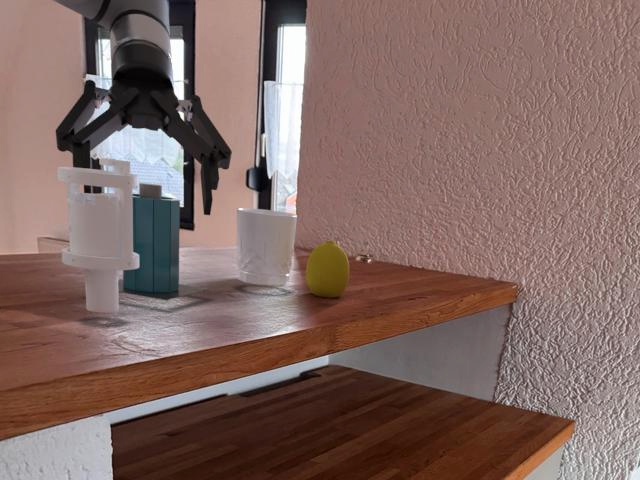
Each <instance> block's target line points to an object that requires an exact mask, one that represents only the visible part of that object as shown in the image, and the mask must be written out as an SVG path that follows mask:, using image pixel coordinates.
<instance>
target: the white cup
mask: <svg viewBox="0 0 640 480" xmlns="http://www.w3.org/2000/svg"><path fill="white" fill-rule="evenodd" d="M297 221H298V215H297V214H295V213H291V212H286V211H279V210H271V209H263V208H249V207H239V208H237V209H236V265H237V268H238V269H237V279H238V280H239V281H241V282H244V283H247V284H253V285H259V286H273V287H274V286H275V287H277V286H278V287H279V286H280V287H281V286H287V285H289V283H290V273H291V270H292V266H293V265H292V263H293V256H294V249H295V240H296V231H297Z"/></svg>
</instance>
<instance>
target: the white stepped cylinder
mask: <svg viewBox="0 0 640 480" xmlns="http://www.w3.org/2000/svg"><path fill="white" fill-rule="evenodd" d="M98 160H99V165H101V166H107V167H113V170H104V169H96V168H91V169H86V168H74V167H73V166H71V167H70V166H69V167H68V166H57V181H59V182H62V183H66V194H67V195H66V196H67V218H68V235H69V236H68V240H69V241H68V242H69V246H67V247H63V248H61V262H62V264H65V265H66V266H69V267H74V268H75V267H76V268H79V269H81V268H82V269H84V281H85V283H84V285H85V287H84V288H85V304H86V306H85V307H86V308H85V309H86V310H87V311H88V312H91V313H99V314H100V313H102V314H111V313H112V314H113V313H117V312H119V311H120V304H119V293H120V292H119V291H118V280H119V271H122V270H133V269H137V268H139V254H137V253H135V252H133V199H132V193H133V190H136V189H138V190H139V183H140V176H139V175H138V174H133V173H131V161H127V160H119V159H116V158H108V157H102V158H99V159H98ZM81 185H82V186H84V185H90V186H91V187H100V188H109V189H110V188H111V189H113V190H114V191H113V192H112V193H111V192H110V193H109V192H100V193H91V194H90V193H84V192H81Z"/></svg>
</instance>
